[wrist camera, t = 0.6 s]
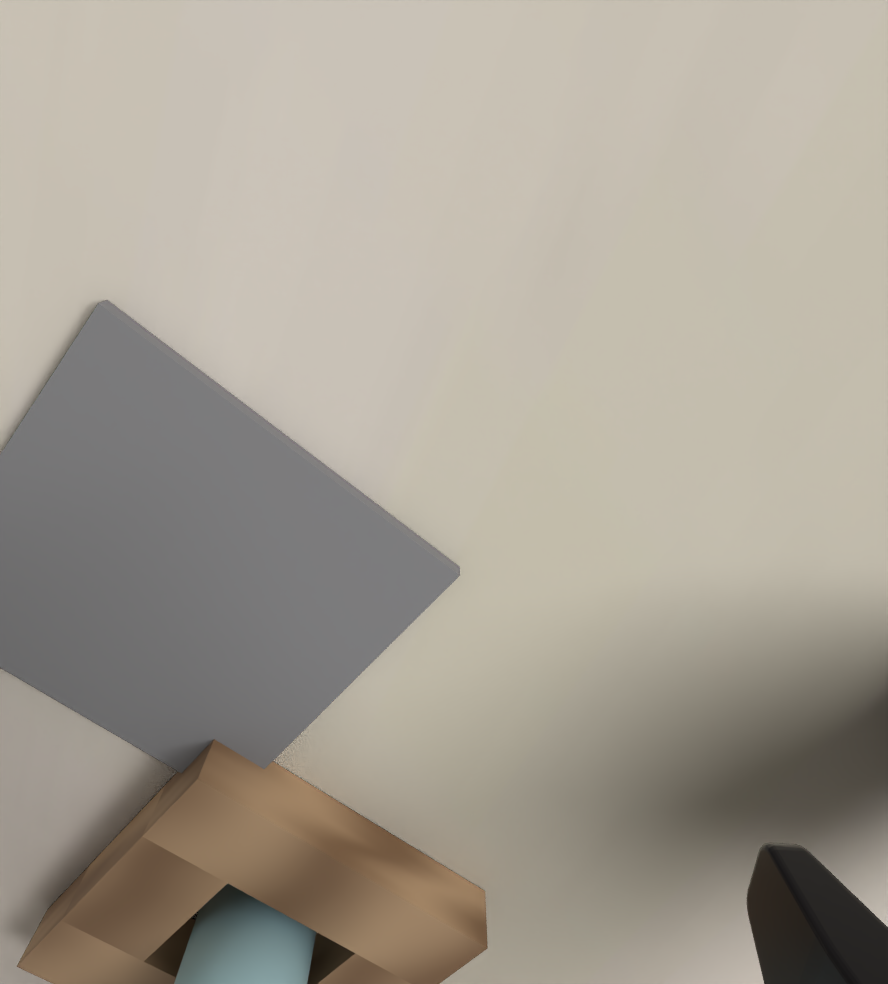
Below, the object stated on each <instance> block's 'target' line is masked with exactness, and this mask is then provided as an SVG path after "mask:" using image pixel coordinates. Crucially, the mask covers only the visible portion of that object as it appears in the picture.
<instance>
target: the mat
mask: <svg viewBox="0 0 888 984" xmlns="http://www.w3.org/2000/svg"><path fill="white" fill-rule="evenodd" d="M459 576H460V567H459V566H458V565H457V564H455V563H454V562H453V561H451V560H450V559H449V558H447V557H446V556H445V555H444V554H442V553H441V552H440V551H438V550H437V549H436V548H434V547H433V546H432V545H430V544H429V543H428V542H426V541H425V540H424V539H422V538H421V537H420V536H418V535H417V534H416V533H414V532H413V531H412V530H410V529H409V528H408V527H407V526H405V525H404V524H403V523H401V522H400V521H399V520H397V519H396V518H395V517H393V516H392V515H391V514H389V513H388V512H387V511H385V510H384V509H383V508H381V507H380V506H379V505H377V504H376V503H375V502H374V501H372V500H371V499H370V498H368V497H367V496H366V495H364V494H363V493H362V492H360V491H359V490H358V489H356V488H355V487H354V486H352V485H351V484H350V483H348V482H347V481H346V480H344V479H343V478H342V477H340V476H339V475H338V474H337V473H335V472H334V471H333V470H331V469H330V468H329V467H327V466H326V465H325V464H323V463H322V462H321V461H319V460H318V459H317V458H315V457H314V456H313V455H311V454H310V453H309V452H307V451H306V450H305V449H303V448H302V447H301V446H300V445H298V444H297V443H296V442H294V441H293V440H292V439H290V438H289V437H288V436H286V435H285V434H284V433H282V432H281V431H280V430H278V429H277V428H276V427H274V426H273V425H272V424H270V423H269V422H268V421H267V420H265V419H264V418H263V417H261V416H260V415H259V414H257V413H256V412H255V411H253V410H252V409H251V408H249V407H248V406H247V405H245V404H244V403H243V402H241V401H240V400H239V399H237V398H236V397H235V396H233V395H232V394H231V393H230V392H228V391H227V390H226V389H224V388H223V387H222V386H220V385H219V384H218V383H216V382H215V381H214V380H212V379H211V378H210V377H208V376H207V375H206V374H204V373H203V372H202V371H200V370H199V369H198V368H197V367H195V366H194V365H193V364H191V363H190V362H189V361H187V360H186V359H185V358H183V357H182V356H181V355H179V354H178V353H177V352H175V351H174V350H173V349H171V348H170V347H169V346H167V345H166V344H165V343H163V342H162V341H161V340H160V339H158V338H157V337H156V336H154V335H153V334H152V333H150V332H149V331H148V330H146V329H145V328H144V327H142V326H141V325H140V324H138V323H137V322H136V321H134V320H133V319H132V318H130V317H129V316H128V315H126V314H125V313H124V312H123V311H121V310H120V309H119V308H117V307H116V306H115V305H113V304H112V303H111V302H109V301H108V300H105V301H103V302H100V303H98V305H97V306H96V308H95V309H94V311H93V313H92V314H91V316H90V317H89V319H88V320H87V322H86V323H85V325H84V326H83V328H82V329H81V331H80V333H79V334H78V336H77V337H76V339H75V340H74V342H73V343H72V345H71V346H70V348H69V349H68V351H67V353H66V354H65V356H64V357H63V359H62V360H61V362H60V363H59V365H58V366H57V368H56V369H55V371H54V373H53V374H52V376H51V377H50V379H49V380H48V382H47V383H46V385H45V386H44V388H43V389H42V391H41V393H40V394H39V396H38V397H37V399H36V400H35V402H34V403H33V405H32V406H31V408H30V409H29V411H28V413H27V414H26V416H25V417H24V419H23V420H22V422H21V423H20V425H19V426H18V428H17V430H16V431H15V433H14V434H13V436H12V437H11V439H10V440H9V442H8V443H7V445H6V446H5V448H4V450H3V451H2V453H1V454H0V668H2V669H3V670H5V671H7V672H9V673H10V674H12V675H14V676H15V677H17V678H19V679H20V680H22V681H24V682H26V683H27V684H29V685H31V686H32V687H34V688H36V689H38V690H39V691H41V692H43V693H44V694H46V695H48V696H50V697H51V698H53V699H55V700H56V701H58V702H60V703H62V704H63V705H65V706H67V707H68V708H70V709H72V710H74V711H75V712H77V713H79V714H80V715H82V716H84V717H86V718H87V719H89V720H91V721H92V722H94V723H96V724H98V725H99V726H101V727H103V728H104V729H106V730H108V731H110V732H111V733H113V734H115V735H116V736H118V737H120V738H122V739H123V740H125V741H127V742H128V743H130V744H132V745H134V746H135V747H137V748H139V749H140V750H142V751H144V752H146V753H147V754H149V755H151V756H152V757H154V758H156V759H158V760H159V761H161V762H163V763H164V764H166V765H168V766H170V767H171V768H173V769H175V770H176V771H178V772H180V773H183V771H184V770H185V769H186V768H187V767H188V766H189V765H190V764H191V763H192V762H193V761H194V760H195V759H196V758H197V757H198V756H199V755H200V754H201V753H202V751H203V750H204V749H205V748H206V747H207V746H208V745H209V744H210V743H211V742H212V741H213V740H214V739H215V740H217V741H218V742H220V743H221V744H223V745H225V746H226V747H228V748H230V749H231V750H233V751H235V752H236V753H238V754H240V755H241V756H243V757H245V758H246V759H248V760H250V761H251V762H253V763H255V764H256V765H258V766H259V767H261V768H263V769H265V768H266V767H267V766H268V765H269V764H270V763H271V762H272V761H273V760H274V759H275V758H276V757H277V756H278V755H279V754H280V753H281V752H282V751H283V750H284V749H285V748H286V747H287V746H288V745H289V744H290V743H291V742H292V741H293V740H294V739H295V738H296V737H297V736H298V735H299V734H300V733H301V732H302V731H303V730H304V729H305V728H306V727H307V726H308V725H309V724H310V723H312V722H313V721H314V720H315V719H316V718H317V717H318V716H319V715H320V714H321V713H322V712H323V711H324V710H325V709H326V708H327V707H328V706H329V705H330V704H331V703H332V702H333V701H334V700H335V699H336V698H337V697H338V696H339V695H340V694H341V693H342V692H343V691H344V690H345V689H346V688H347V687H348V686H349V685H350V684H351V683H352V682H353V681H354V680H355V679H356V678H357V677H358V676H359V675H360V674H361V673H362V672H363V671H364V670H365V669H366V668H367V667H368V666H369V665H370V664H371V663H372V662H373V661H374V660H375V659H376V658H377V657H378V656H379V655H380V654H381V653H382V652H383V651H384V650H385V649H386V648H387V647H388V646H389V645H390V644H391V643H392V642H393V641H394V640H395V639H396V638H397V637H398V636H399V635H400V634H401V633H402V632H403V631H404V630H405V629H406V628H407V627H408V626H409V625H410V624H411V623H412V622H413V621H414V620H415V619H416V618H417V617H418V616H419V615H420V614H421V613H422V612H423V611H424V610H425V609H427V608H428V607H429V606H430V605H431V604H432V603H433V602H434V601H435V600H436V599H437V598H438V597H439V596H440V595H441V594H442V593H443V592H444V591H445V590H446V589H447V588H448V587H449V586H450V585H451V584H452V583H453V582H454V581H455V580H456V579H457V578H458V577H459Z"/></svg>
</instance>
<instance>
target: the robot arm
mask: <svg viewBox="0 0 888 984" xmlns="http://www.w3.org/2000/svg"><path fill="white" fill-rule="evenodd" d="M747 909H748V916H749V920H750V924H751V929H752V933H753V937H754V941H755V946H756V950H757V954H758V958H759V963H760V967H761V971H762V976H763V980H764V984H888V927H887V926H886V925H885V924H884V923H883V922H882V921H881V920H880V919H878V918H877V917H876V916H875V915H874V914H873V913H872V912H871V911H870V910H869V909H868V908H867V907H866V906H865V905H864V904H863V903H862V902H861V901H860V900H859V899H858V898H857V897H856V896H855V895H854V894H852V893H851V892H850V891H849V890H848V889H847V888H846V887H845V886H844V885H843V884H842V883H841V882H840V881H839V880H838V879H837V878H836V877H835V876H834V875H833V874H832V873H831V872H830V871H829V870H827V869H826V868H825V867H824V866H823V865H822V864H821V863H820V862H819V861H818V860H817V859H816V858H815V857H814V856H813V855H812V854H811V853H810V852H809V851H807V850H806V849H805V848H803V847H802V846H800V845H796V844H783V843H766V844H764V845H763V846H762V847H761V848H760V851H759V853H758V857H757V860H756V864H755V867H754V871H753V874H752V878H751V881H750V884H749V888H748V892H747Z"/></svg>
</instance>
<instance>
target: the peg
mask: <svg viewBox="0 0 888 984" xmlns="http://www.w3.org/2000/svg"><path fill="white" fill-rule="evenodd" d="M315 937H316V931H314V930H312V929H310V928H308V927H306V926H305V925H303V924H301V923H299V922H297V921H296V920H294V919H292V918H290V917H288V916H286V915H285V914H283V913H281V912H279V911H277V910H275V909H274V908H272V907H270V906H268V905H266V904H265V903H263V902H261V901H259V900H257V899H255V898H254V897H252V896H250V895H248V894H246V893H244V892H243V891H241V890H239V889H237V888H235V887H233V886H232V885H230V884H226V885H225V886H224V887H223V888H222V889H221V890H220V891H219V892H218V893H217V894H216V895H215V896H214V897H212V898H211V899H210V900H209V901H208V902H207V903H206V904H205V905H204V906H203V907H202V908H201V909H200V910H199V912H198V915H197V918H196V921H195V924H194V926H193V929H192V932H191V935H190V938H189V941H188V944H187V947H186V950H185V953H184V956H183V959H182V962H181V965H180V968H179V971H178V974H177V977H176V979H175V982H174V984H307V982H308V976H309V971H310V965H311V960H312V954H313V948H314V943H315Z"/></svg>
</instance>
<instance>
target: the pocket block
mask: <svg viewBox="0 0 888 984" xmlns="http://www.w3.org/2000/svg"><path fill="white" fill-rule="evenodd" d="M226 884H230V885H232V886H233V887H235V888H237V889H239V890H241V891H243V892H244V893H246V894H248V895H250V896H252V897H254V898H255V899H257V900H259V901H261V902H263V903H265V904H266V905H268V906H270V907H272V908H274V909H275V910H277V911H279V912H281V913H283V914H285V915H286V916H288V917H290V918H292V919H294V920H296V921H297V922H299V923H301V924H303V925H305V926H306V927H308V928H310V929H312V930H314V931H316V932H317V933H318V934H317V935H316V937H315V943H314V948H313V954H312V960H311V965H310V971H309V976H308V982H307V984H439V983H441V982H442V981H443V980H445V979H446V978H447V977H449V976H450V975H452V974H453V973H454V972H456V971H457V970H458V969H460V968H461V967H463V966H464V965H465V964H467V963H468V962H469V961H471V960H472V959H473V958H475V957H476V956H478V955H479V954H480V953H482V952H483V951H484V950H486V949H487V925H486V902H485V891H484V890H482V889H480V888H479V887H477V886H476V885H474V884H472V883H471V882H469V881H467V880H466V879H464V878H462V877H461V876H459V875H458V874H456V873H454V872H453V871H451V870H449V869H448V868H446V867H445V866H443V865H441V864H440V863H438V862H436V861H435V860H433V859H431V858H430V857H428V856H427V855H425V854H423V853H422V852H420V851H418V850H417V849H415V848H413V847H412V846H410V845H409V844H407V843H405V842H404V841H402V840H400V839H399V838H397V837H395V836H394V835H392V834H391V833H389V832H387V831H386V830H384V829H382V828H381V827H379V826H377V825H376V824H374V823H373V822H371V821H369V820H368V819H366V818H364V817H363V816H361V815H359V814H358V813H356V812H355V811H353V810H351V809H350V808H348V807H346V806H345V805H343V804H341V803H340V802H338V801H337V800H335V799H333V798H332V797H330V796H328V795H327V794H325V793H324V792H322V791H320V790H319V789H317V788H315V787H314V786H312V785H310V784H309V783H307V782H306V781H304V780H302V779H301V778H299V777H297V776H296V775H294V774H292V773H291V772H289V771H288V770H286V769H284V768H283V767H281V766H279V765H278V764H276V763H274V762H273V761H272V762H271V763H270V764H269V765H268V766H267V767H266V768H265V769H263V768H261V767H259V766H258V765H256V764H255V763H253V762H251V761H250V760H248V759H246V758H245V757H243V756H241V755H240V754H238V753H236V752H235V751H233V750H231V749H230V748H228V747H226V746H225V745H223V744H221V743H220V742H218V741H217V740H215V739H214V740H213V741H212V742H211V743H210V744H209V745H208V746H207V747H206V748H205V749H204V750H203V751H202V753H201V754H200V755H199V756H198V757H197V758H196V759H195V760H194V761H193V762H192V763H191V764H190V765H189V766H188V767H187V768H186V769H185V770H184V771H183V773H180V772H177V773H176V774H175V775H174V776H173V777H172V778H171V779H170V780H169V781H168V783H167V784H166V785H165V786H164V787H163V788H162V789H161V790H160V791H159V792H158V793H157V794H156V795H155V796H154V797H153V798H152V799H151V801H150V802H149V803H148V804H147V805H146V806H145V807H144V808H143V809H142V810H141V811H140V812H139V813H138V814H137V815H136V816H135V817H134V819H133V820H132V821H131V822H130V823H129V824H128V825H127V826H126V827H125V828H124V829H123V830H122V831H121V832H120V833H119V834H118V836H117V837H116V838H115V839H114V840H113V841H112V842H111V843H110V844H109V845H108V846H107V847H106V848H105V849H104V850H103V851H102V852H101V854H100V855H99V856H98V857H97V858H96V859H95V860H94V861H93V862H92V863H91V864H90V865H89V866H88V867H87V868H86V869H85V870H84V872H83V873H82V874H81V875H80V876H79V877H78V878H77V879H76V880H75V881H74V882H73V883H72V884H71V885H70V886H69V887H68V888H67V890H66V891H65V892H64V893H63V894H62V895H61V896H60V897H59V898H58V899H57V900H56V901H55V902H54V903H53V904H52V905H51V906H50V908H49V909H48V910H47V911H46V913H45V915H44V917H43V919H42V921H41V923H40V924H39V926H38V928H37V930H36V932H35V934H34V935H33V937H32V939H31V941H30V943H29V945H28V947H27V948H26V950H25V952H24V954H23V956H22V958H21V959H20V961H19V963H18V965H17V967H19V968H21V969H23V970H25V971H27V972H29V973H32V974H34V975H36V976H38V977H40V978H42V979H44V980H46V981H49V982H51V983H53V984H174V982H175V979H176V977H177V974H178V971H179V968H180V965H181V962H182V959H183V956H184V953H185V950H186V947H187V944H188V941H189V938H190V935H191V932H192V929H193V926H194V924H195V921H196V920H194V919H192V918H191V917H192V916H193V915H194V914H195V913H196V912H197V911H199V910H200V909H201V908H202V907H203V906H204V905H205V904H206V903H207V902H208V901H209V900H210V899H211V898H212V897H214V896H215V895H216V894H217V893H218V892H219V891H220V890H221V889H222V888H223V887H224V886H225V885H226Z"/></svg>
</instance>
